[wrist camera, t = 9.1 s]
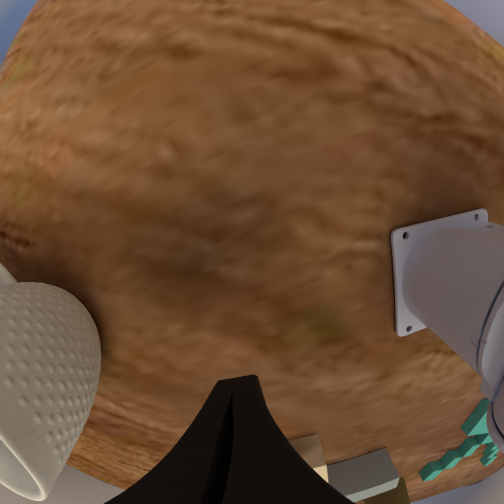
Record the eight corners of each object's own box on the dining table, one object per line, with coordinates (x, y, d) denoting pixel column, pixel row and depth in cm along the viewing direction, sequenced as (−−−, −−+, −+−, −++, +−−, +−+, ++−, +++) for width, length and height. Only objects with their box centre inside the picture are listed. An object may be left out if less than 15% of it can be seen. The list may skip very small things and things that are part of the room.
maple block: (317, 432, 22) (326, 465, 18) (322, 464, 23) (329, 493, 19) (229, 447, 22) (228, 481, 18) (245, 478, 23) (245, 507, 19)
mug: (-18, 269, 17) (-118, 320, 5) (35, 186, 16) (-114, 209, 3) (77, 398, 20) (14, 500, 8) (155, 351, 19) (85, 505, 6)
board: (385, 447, 23) (399, 477, 18) (383, 458, 23) (396, 487, 19) (181, 483, 23) (176, 514, 19) (189, 492, 24) (185, 522, 19)
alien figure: (484, 457, 27) (551, 363, 23) (489, 464, 25) (558, 369, 21) (417, 470, 25) (510, 349, 21) (423, 481, 23) (521, 357, 19)
